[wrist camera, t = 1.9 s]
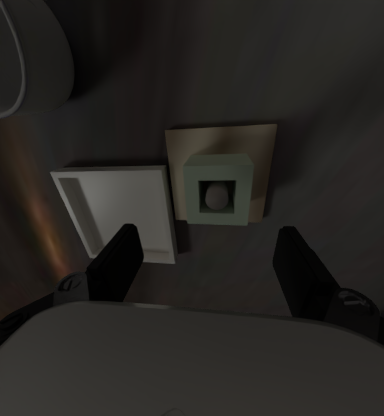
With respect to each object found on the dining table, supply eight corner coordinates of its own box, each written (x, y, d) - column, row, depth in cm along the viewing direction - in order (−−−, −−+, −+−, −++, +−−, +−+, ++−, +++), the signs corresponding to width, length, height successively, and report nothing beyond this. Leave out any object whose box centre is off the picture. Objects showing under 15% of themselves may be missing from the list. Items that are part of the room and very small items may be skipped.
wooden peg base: (274, 124, 18) (299, 128, 13) (260, 218, 24) (272, 250, 18) (167, 130, 20) (146, 135, 14) (177, 216, 26) (165, 244, 20)
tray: (166, 165, 22) (161, 170, 20) (177, 254, 30) (175, 263, 28) (63, 167, 25) (50, 172, 23) (97, 249, 32) (90, 257, 30)
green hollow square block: (246, 153, 19) (254, 164, 15) (242, 203, 22) (247, 225, 18) (190, 155, 20) (182, 166, 16) (193, 203, 23) (187, 223, 19)
